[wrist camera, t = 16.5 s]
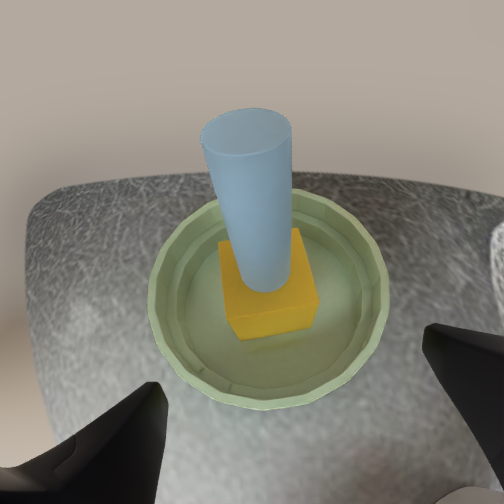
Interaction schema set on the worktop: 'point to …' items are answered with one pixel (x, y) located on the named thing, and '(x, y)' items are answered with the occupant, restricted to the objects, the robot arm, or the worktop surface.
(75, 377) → the worktop surface
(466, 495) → the mug
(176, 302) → the bowl
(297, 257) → the sponge wand
